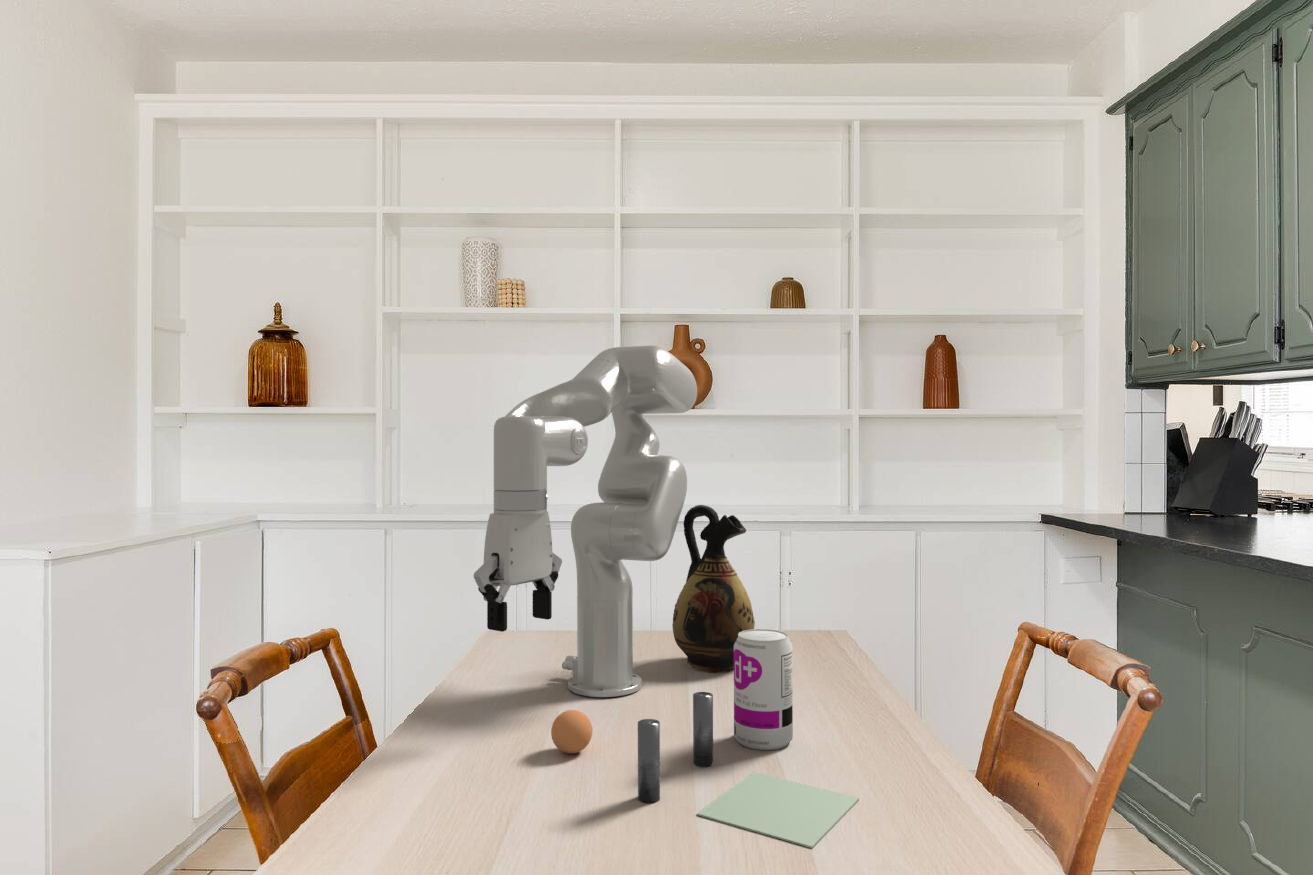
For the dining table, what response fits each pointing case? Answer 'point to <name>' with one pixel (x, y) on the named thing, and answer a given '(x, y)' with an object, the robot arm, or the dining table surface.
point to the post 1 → (648, 760)
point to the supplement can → (763, 689)
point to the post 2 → (703, 729)
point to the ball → (571, 731)
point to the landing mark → (780, 808)
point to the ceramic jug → (711, 597)
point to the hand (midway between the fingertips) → (520, 623)
